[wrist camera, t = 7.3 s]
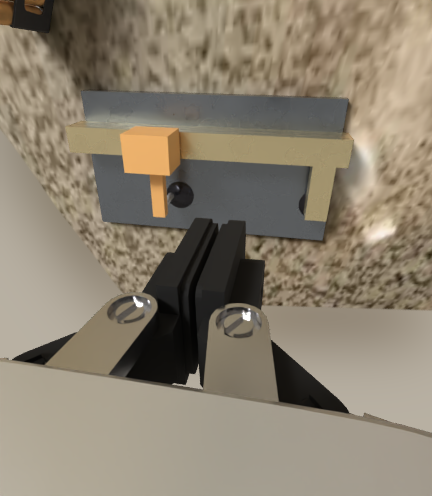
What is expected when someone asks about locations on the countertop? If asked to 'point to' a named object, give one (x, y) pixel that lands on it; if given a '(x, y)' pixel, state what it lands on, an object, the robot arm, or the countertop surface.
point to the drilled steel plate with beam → (221, 158)
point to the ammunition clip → (27, 14)
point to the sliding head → (152, 160)
